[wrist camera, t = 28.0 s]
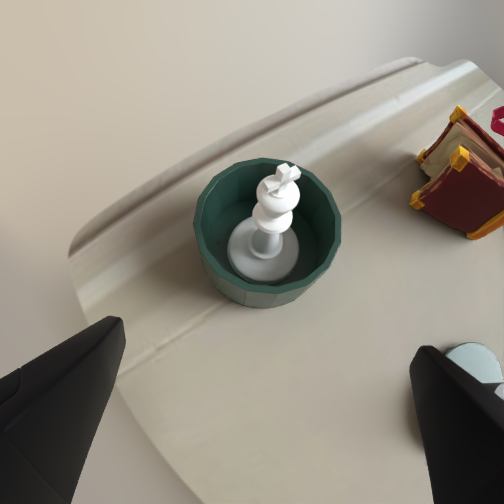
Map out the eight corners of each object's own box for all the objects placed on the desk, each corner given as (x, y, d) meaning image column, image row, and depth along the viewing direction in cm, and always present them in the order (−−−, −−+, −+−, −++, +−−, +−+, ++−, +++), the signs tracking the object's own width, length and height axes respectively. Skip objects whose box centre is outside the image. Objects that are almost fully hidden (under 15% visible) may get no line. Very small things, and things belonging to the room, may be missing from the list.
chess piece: (312, 262, 22) (364, 190, 13) (251, 298, 21) (265, 245, 12) (274, 206, 23) (298, 111, 14) (214, 238, 22) (202, 149, 13)
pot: (179, 270, 22) (165, 245, 17) (239, 179, 25) (241, 139, 20) (287, 330, 21) (303, 321, 16) (337, 229, 24) (360, 198, 19)
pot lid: (398, 434, 19) (436, 447, 14) (442, 326, 22) (483, 315, 17) (470, 458, 18) (509, 468, 13) (505, 364, 20) (545, 358, 16)
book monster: (396, 203, 25) (426, 130, 29) (471, 263, 23) (487, 180, 28) (468, 121, 15) (476, 61, 19) (556, 210, 14) (545, 125, 18)
